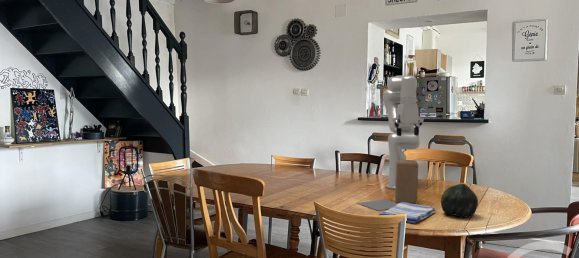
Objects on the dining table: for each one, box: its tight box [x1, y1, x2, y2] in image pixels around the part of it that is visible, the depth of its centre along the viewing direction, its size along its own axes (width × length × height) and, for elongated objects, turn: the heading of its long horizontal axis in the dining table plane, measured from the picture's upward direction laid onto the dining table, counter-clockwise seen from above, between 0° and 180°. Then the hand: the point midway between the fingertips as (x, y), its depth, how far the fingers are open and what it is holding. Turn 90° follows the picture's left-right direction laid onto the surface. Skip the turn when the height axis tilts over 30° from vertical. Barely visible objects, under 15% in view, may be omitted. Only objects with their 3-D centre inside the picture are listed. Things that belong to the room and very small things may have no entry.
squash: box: [440, 183, 479, 218], centre depth 186 cm, size 14×15×15 cm
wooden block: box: [394, 159, 419, 205], centre depth 211 cm, size 10×10×20 cm
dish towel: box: [378, 202, 437, 225], centre depth 186 cm, size 17×24×3 cm
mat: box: [356, 199, 399, 212], centre depth 205 cm, size 17×16×1 cm
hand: (407, 135), depth 217 cm, fingers open, 9 cm apart
